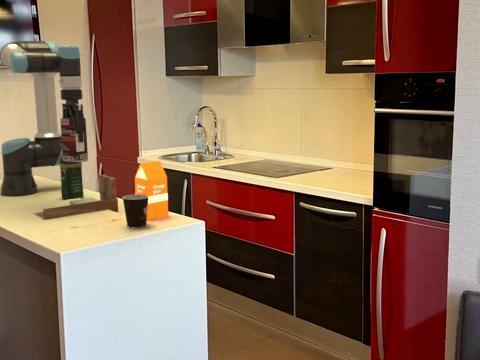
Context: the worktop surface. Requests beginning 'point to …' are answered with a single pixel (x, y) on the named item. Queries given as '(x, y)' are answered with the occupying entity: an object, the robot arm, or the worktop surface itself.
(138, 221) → the coffee mug
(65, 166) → the coffee jar
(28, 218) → the worktop surface
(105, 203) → the shelf
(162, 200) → the orange juice
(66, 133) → the supplement box
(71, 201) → the bookend
